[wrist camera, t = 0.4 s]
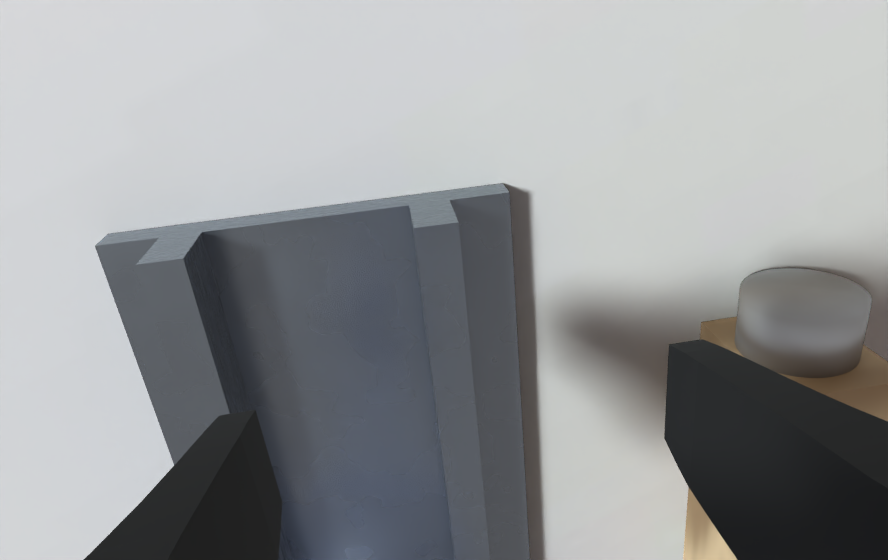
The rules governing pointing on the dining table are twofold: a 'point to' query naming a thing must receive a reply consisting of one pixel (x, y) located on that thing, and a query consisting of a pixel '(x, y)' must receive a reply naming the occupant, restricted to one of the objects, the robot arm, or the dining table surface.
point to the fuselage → (797, 355)
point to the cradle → (347, 364)
